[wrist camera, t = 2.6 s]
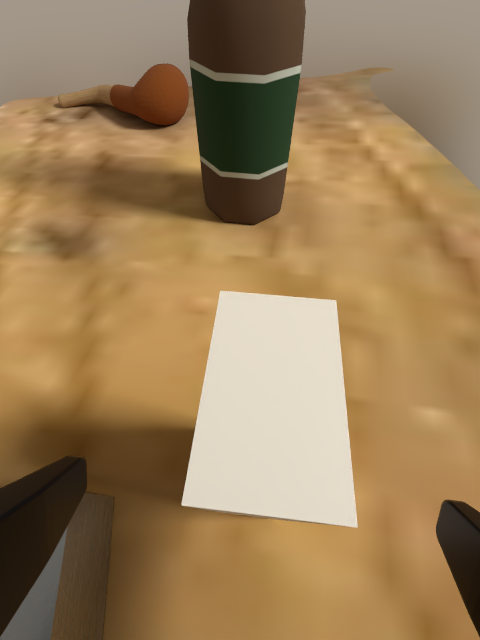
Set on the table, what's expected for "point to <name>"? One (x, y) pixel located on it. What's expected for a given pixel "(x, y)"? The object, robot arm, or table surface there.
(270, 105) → the beer bottle
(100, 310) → the table surface
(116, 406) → the table surface
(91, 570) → the box
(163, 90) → the smoking pipe
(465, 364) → the table surface
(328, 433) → the block
